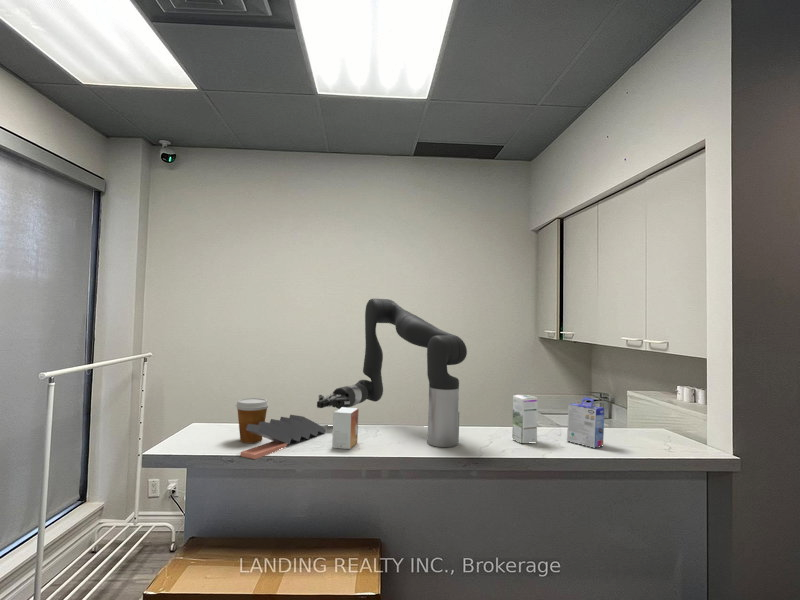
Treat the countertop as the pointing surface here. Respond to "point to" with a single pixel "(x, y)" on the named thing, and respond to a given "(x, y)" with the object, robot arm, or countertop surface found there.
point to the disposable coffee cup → (251, 417)
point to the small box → (345, 428)
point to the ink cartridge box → (585, 423)
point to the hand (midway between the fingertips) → (319, 404)
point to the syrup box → (525, 418)
